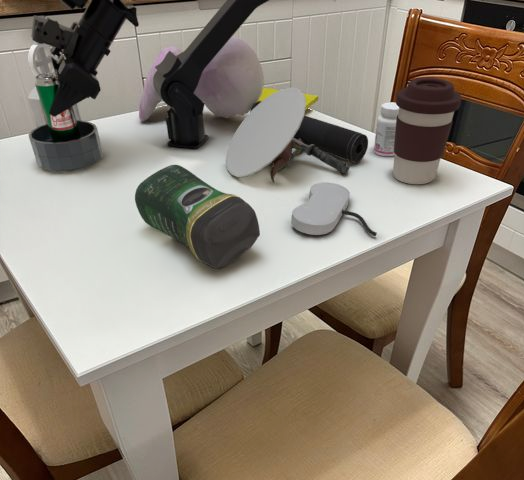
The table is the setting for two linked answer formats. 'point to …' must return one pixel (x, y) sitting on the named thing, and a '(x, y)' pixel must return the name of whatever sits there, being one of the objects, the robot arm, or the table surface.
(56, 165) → the grey ribbed bowl
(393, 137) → the pill bottle
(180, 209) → the coffee jar
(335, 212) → the game controller
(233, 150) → the round grey base figurine
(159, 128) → the table surface
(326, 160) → the knife
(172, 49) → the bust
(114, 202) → the table surface
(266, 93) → the sign
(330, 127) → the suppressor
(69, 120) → the soda can
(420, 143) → the coffee cup
